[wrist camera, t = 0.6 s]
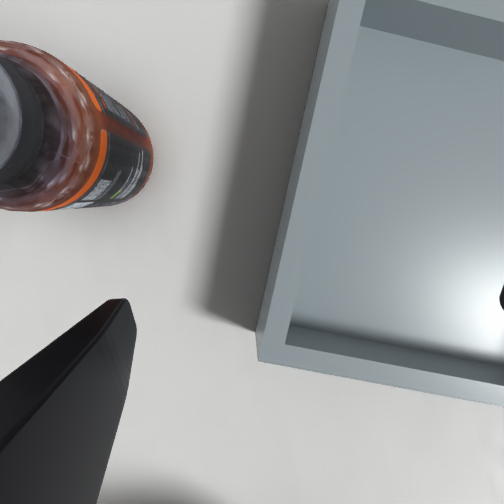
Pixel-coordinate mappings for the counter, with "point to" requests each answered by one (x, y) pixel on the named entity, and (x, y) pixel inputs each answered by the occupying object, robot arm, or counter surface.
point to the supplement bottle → (64, 137)
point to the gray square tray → (397, 203)
